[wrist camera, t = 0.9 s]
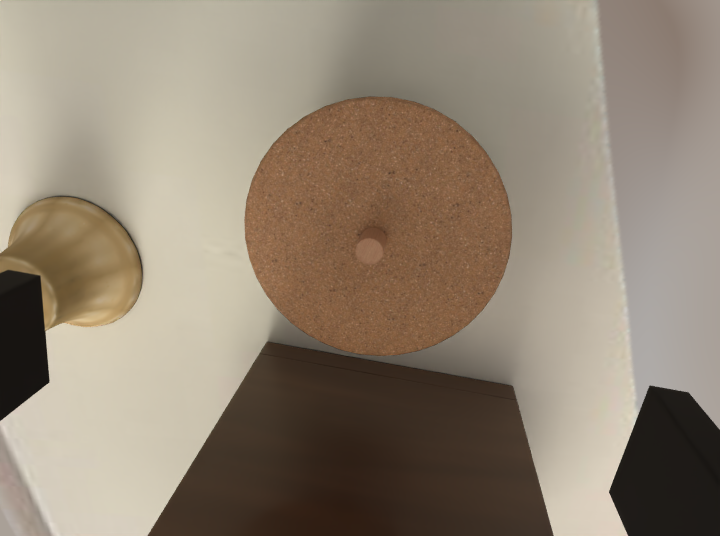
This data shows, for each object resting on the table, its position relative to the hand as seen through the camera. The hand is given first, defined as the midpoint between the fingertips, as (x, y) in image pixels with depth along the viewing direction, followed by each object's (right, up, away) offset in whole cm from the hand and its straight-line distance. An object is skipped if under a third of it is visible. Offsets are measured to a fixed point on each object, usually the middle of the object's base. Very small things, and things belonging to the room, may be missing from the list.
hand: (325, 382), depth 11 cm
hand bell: (-16, +3, +21) cm, 26 cm away
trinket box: (+2, +6, +17) cm, 18 cm away
